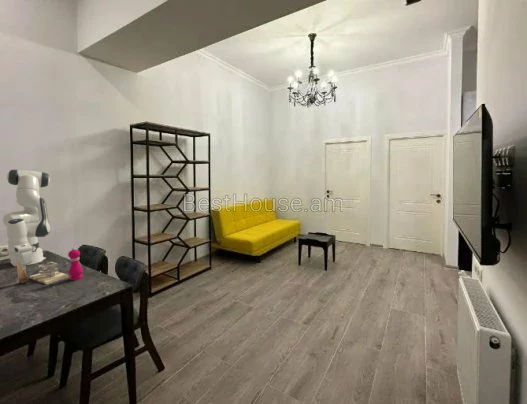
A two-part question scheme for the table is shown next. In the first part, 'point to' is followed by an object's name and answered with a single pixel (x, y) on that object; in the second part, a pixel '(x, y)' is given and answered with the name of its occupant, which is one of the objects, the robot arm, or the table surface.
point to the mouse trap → (48, 273)
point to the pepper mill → (75, 265)
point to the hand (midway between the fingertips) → (21, 268)
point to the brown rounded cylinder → (21, 273)
